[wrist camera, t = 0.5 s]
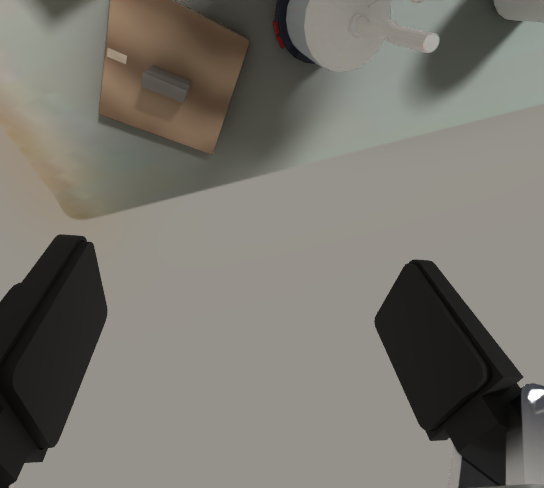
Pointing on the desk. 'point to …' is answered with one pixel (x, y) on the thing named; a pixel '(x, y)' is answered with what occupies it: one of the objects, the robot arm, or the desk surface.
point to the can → (521, 10)
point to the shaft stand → (169, 71)
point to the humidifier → (343, 31)
